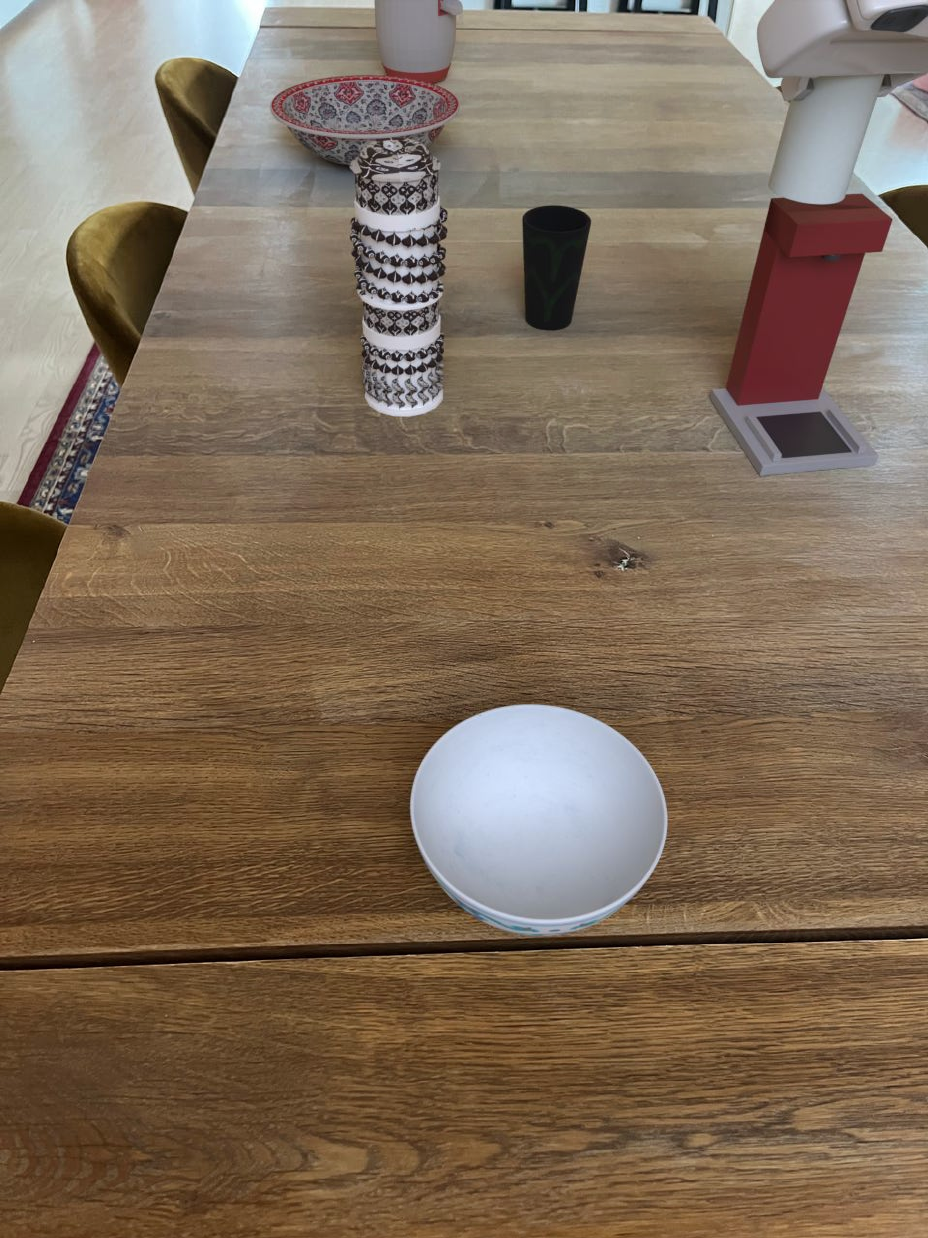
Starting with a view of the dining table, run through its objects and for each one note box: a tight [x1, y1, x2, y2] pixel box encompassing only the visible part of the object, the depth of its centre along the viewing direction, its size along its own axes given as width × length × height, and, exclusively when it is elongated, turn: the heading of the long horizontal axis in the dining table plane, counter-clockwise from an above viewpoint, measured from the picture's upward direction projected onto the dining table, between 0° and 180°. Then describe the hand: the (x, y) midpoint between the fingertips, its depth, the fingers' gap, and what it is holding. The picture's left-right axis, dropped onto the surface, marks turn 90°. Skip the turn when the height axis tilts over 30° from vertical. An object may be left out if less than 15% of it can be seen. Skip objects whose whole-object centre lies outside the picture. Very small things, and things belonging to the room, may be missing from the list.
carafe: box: [767, 74, 885, 204], centre depth 72 cm, size 6×6×14 cm
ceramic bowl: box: [269, 74, 461, 166], centre depth 148 cm, size 29×29×8 cm
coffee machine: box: [709, 193, 894, 477], centre depth 89 cm, size 14×12×21 cm
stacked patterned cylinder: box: [349, 138, 449, 418], centre depth 92 cm, size 9×9×25 cm
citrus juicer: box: [374, 0, 464, 84], centre depth 174 cm, size 16×17×20 cm
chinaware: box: [409, 703, 668, 937], centre depth 58 cm, size 15×15×8 cm
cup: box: [521, 205, 592, 331], centre depth 109 cm, size 8×8×12 cm
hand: (831, 90), depth 73 cm, fingers closed on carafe, 6 cm apart
